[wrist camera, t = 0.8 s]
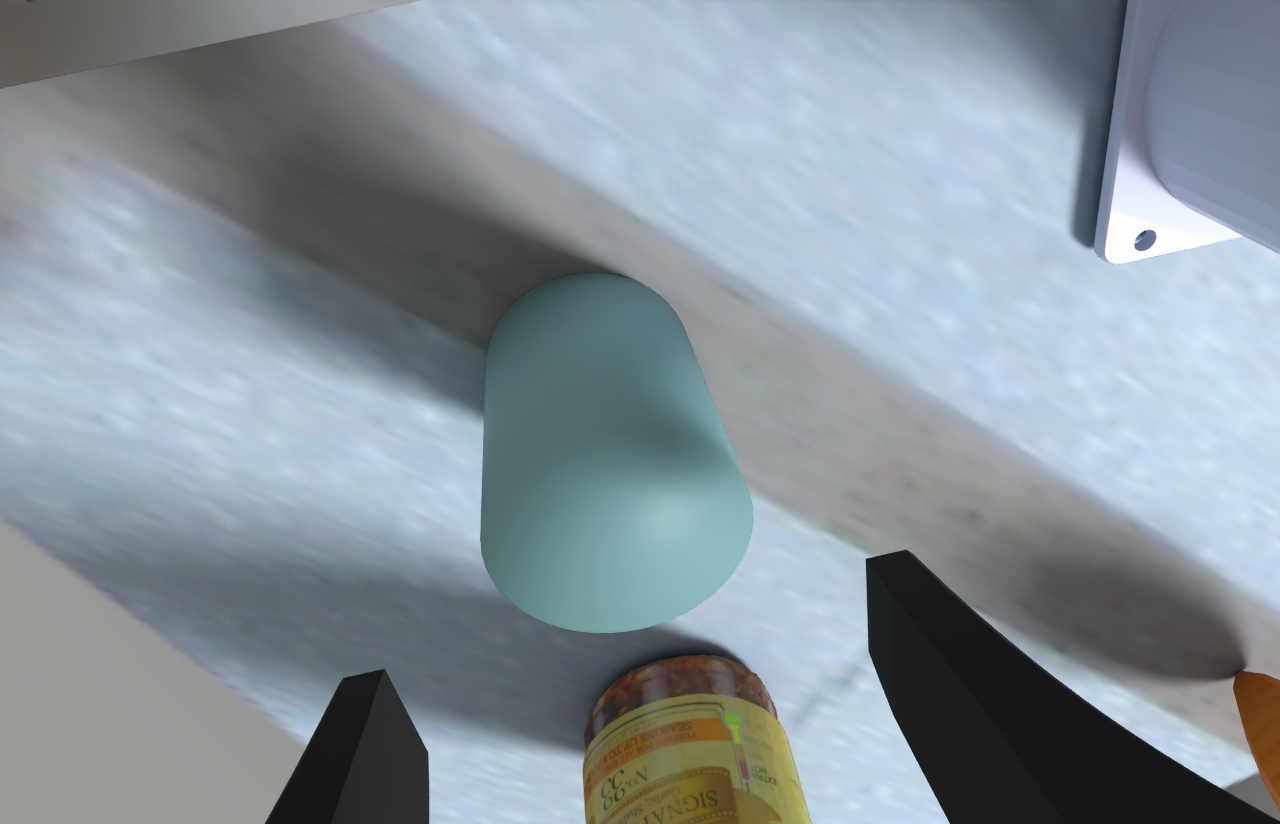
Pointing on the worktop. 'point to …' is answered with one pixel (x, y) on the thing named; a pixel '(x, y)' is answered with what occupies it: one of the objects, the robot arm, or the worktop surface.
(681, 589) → the teal cylinder
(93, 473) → the worktop surface
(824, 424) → the worktop surface
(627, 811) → the sauce bottle
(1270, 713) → the carrot
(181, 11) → the corral
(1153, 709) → the worktop surface
